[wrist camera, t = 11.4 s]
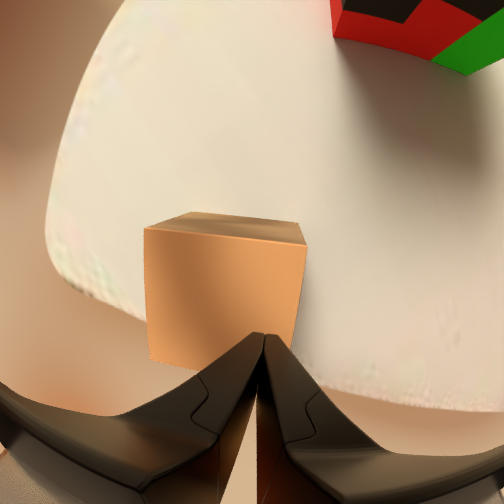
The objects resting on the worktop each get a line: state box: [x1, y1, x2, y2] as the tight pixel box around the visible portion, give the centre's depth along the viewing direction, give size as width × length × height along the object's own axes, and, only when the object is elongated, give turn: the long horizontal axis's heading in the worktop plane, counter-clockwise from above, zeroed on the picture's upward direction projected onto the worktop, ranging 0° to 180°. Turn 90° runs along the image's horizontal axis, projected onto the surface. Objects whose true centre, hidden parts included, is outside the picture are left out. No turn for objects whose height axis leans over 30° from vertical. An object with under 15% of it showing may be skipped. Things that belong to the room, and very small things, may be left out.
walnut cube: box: [144, 212, 307, 371], centre depth 13 cm, size 6×6×6 cm
